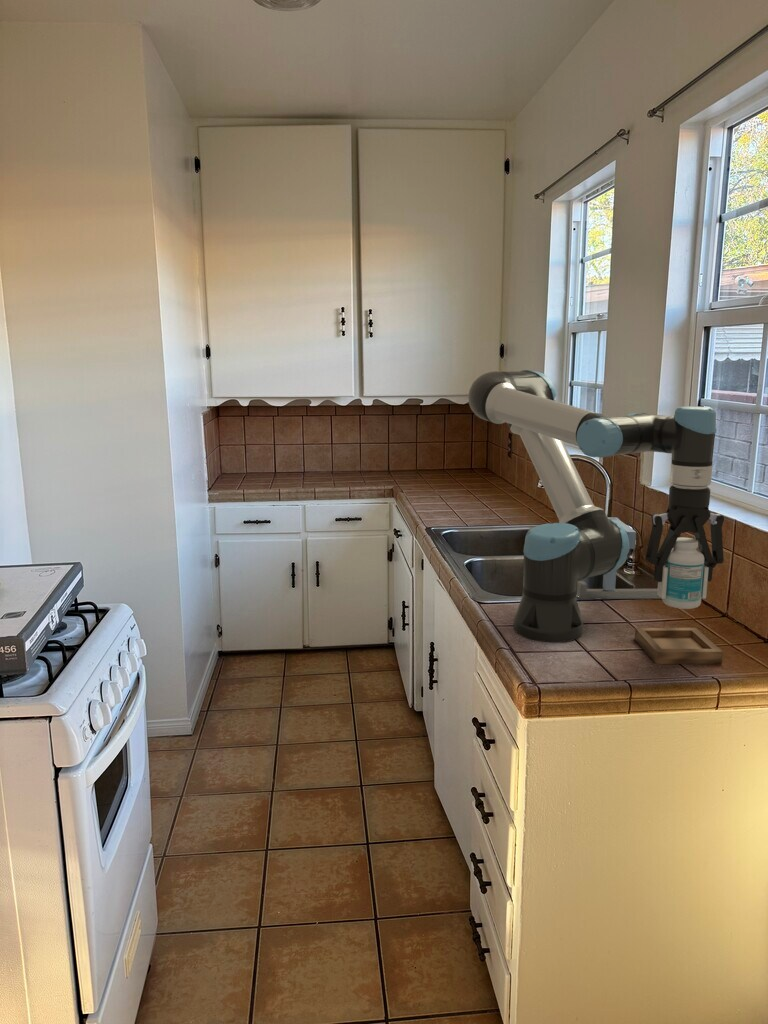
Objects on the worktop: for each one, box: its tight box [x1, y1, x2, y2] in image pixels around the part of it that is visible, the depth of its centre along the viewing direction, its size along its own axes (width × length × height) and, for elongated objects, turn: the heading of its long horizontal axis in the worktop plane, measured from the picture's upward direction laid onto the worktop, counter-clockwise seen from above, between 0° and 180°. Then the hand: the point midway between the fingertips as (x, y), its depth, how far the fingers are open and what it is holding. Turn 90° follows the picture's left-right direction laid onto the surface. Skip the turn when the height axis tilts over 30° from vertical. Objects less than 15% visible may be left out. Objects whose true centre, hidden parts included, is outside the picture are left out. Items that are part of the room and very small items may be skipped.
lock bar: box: [602, 516, 637, 590], centre depth 176 cm, size 2×15×18 cm, turn 0°
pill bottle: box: [661, 536, 704, 610], centre depth 148 cm, size 8×7×14 cm
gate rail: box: [577, 580, 662, 601], centre depth 184 cm, size 23×3×4 cm, turn 90°
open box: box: [634, 627, 724, 665], centre depth 151 cm, size 13×13×2 cm
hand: (681, 596), depth 149 cm, fingers closed on pill bottle, 7 cm apart
